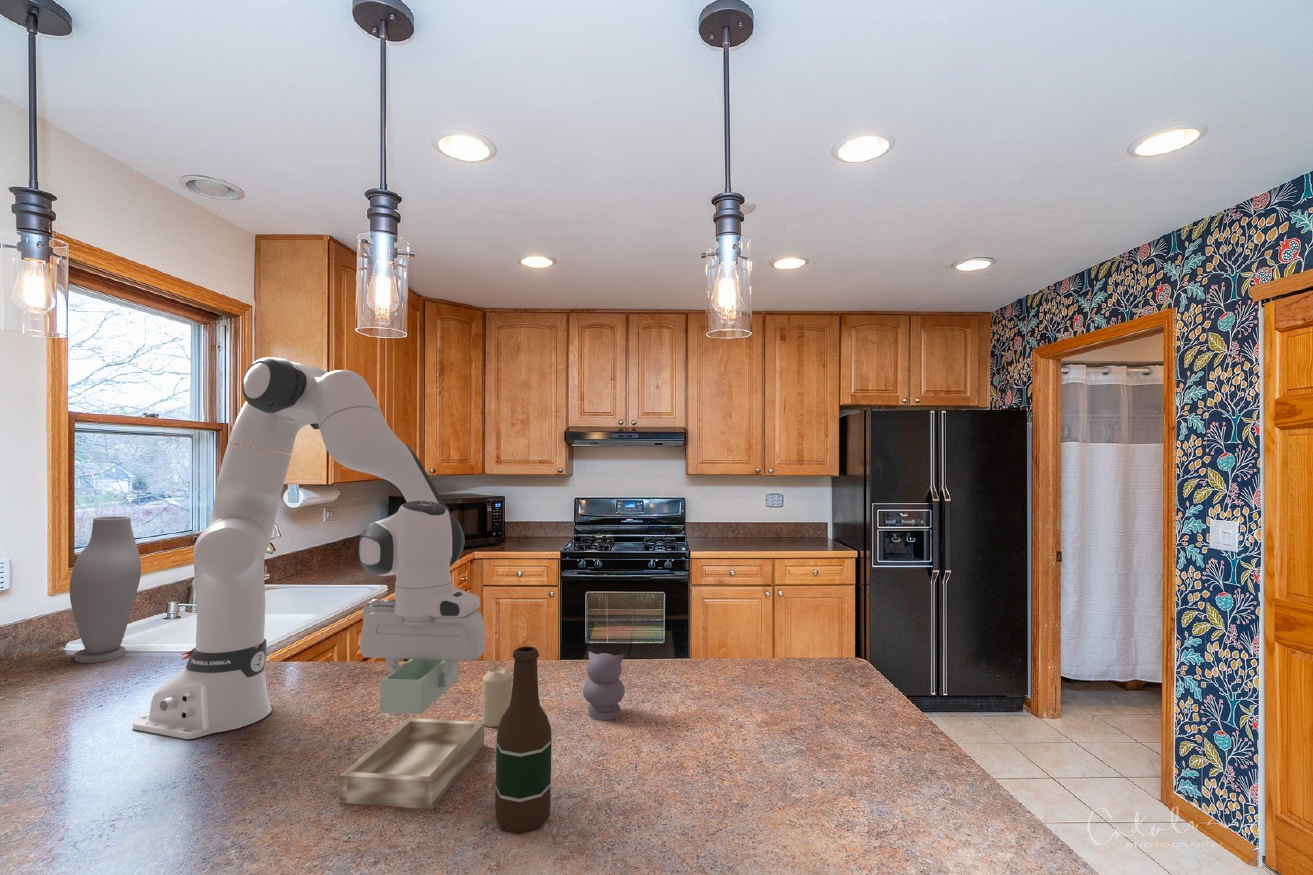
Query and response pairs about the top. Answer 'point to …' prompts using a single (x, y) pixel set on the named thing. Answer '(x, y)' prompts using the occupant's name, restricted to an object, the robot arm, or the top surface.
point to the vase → (105, 588)
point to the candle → (496, 696)
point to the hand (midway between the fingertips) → (422, 684)
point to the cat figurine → (604, 686)
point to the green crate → (413, 686)
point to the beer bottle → (523, 752)
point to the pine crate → (412, 764)
